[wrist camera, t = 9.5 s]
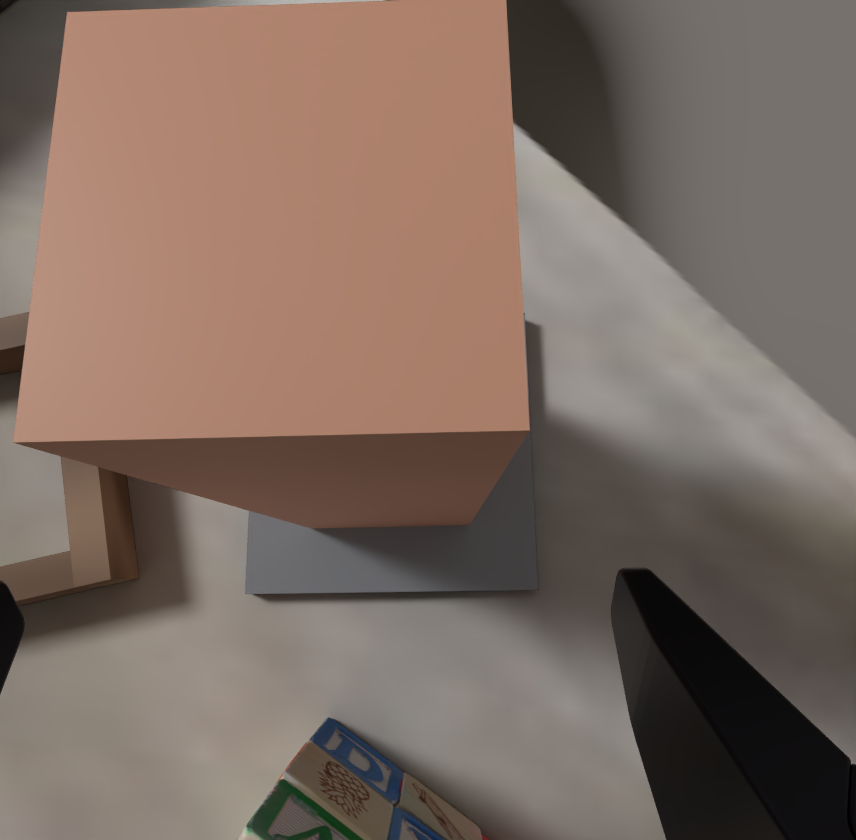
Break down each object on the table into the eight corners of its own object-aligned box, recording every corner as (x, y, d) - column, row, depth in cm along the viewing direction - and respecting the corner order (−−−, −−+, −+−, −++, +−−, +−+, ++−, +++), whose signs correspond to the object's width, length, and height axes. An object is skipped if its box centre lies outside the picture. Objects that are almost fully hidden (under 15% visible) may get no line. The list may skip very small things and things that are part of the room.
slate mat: (536, 589, 22) (538, 589, 22) (250, 593, 23) (245, 594, 22) (522, 318, 25) (524, 312, 24) (262, 324, 25) (258, 318, 24)
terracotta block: (469, 525, 22) (529, 430, 7) (311, 528, 22) (13, 442, 7) (464, 373, 24) (506, -4, 8) (314, 376, 24) (67, 12, 8)
